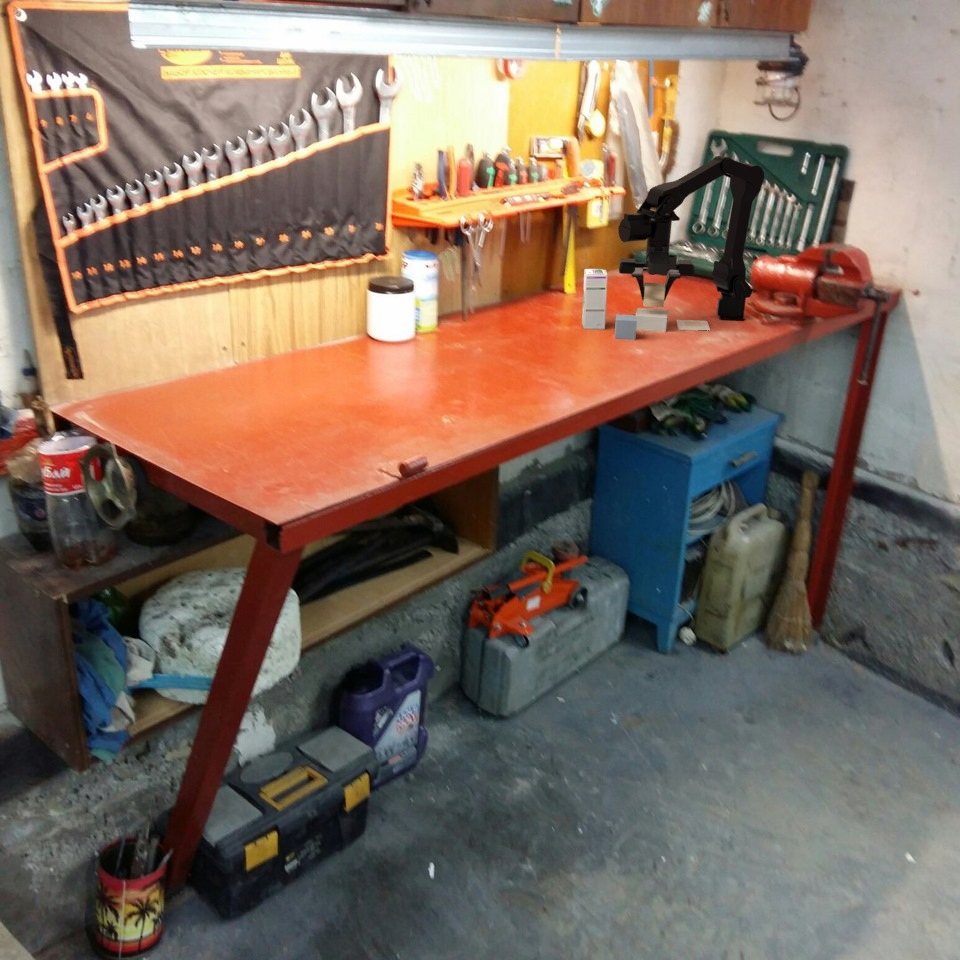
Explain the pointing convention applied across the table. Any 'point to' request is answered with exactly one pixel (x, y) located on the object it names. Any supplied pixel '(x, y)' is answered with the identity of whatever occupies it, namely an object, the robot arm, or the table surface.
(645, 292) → the birch cube
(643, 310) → the base block
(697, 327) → the tile
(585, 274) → the syrup box
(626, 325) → the slate-blue cube
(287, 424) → the table surface
